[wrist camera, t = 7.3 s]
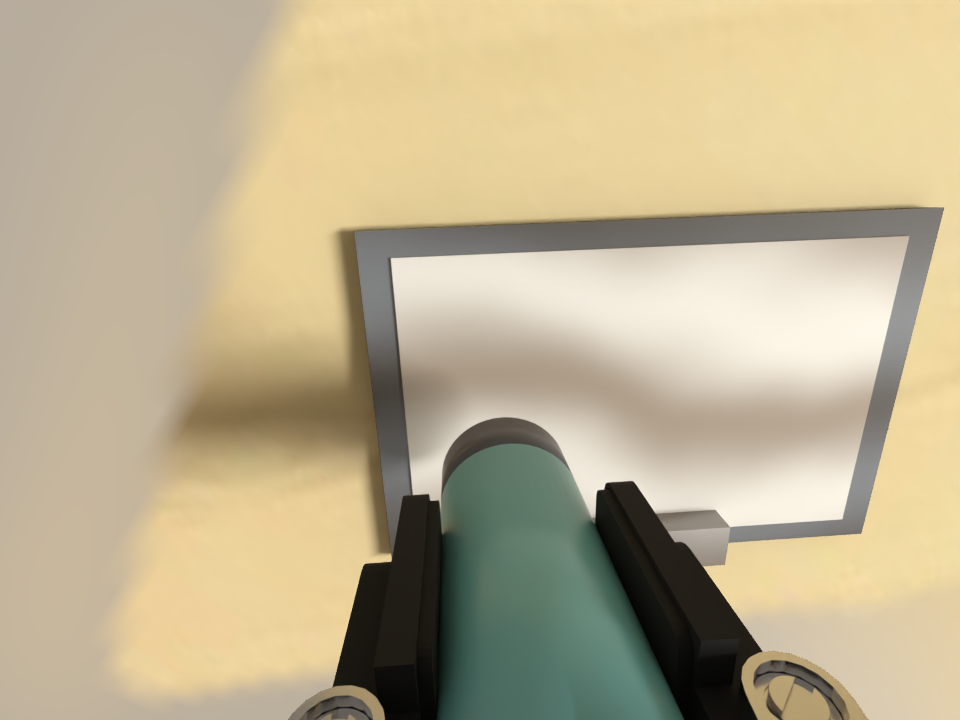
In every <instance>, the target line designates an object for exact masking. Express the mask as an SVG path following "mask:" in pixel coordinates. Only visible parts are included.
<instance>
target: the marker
mask: <svg viewBox="0 0 960 720" xmlns="http://www.w3.org/2000/svg"><path fill="white" fill-rule="evenodd" d="M441 528H442V554H441V588H440V621H439V655H438V689H437V718H436V720H684V718H683V716H682V714H681V711H680V709H679V707H678V705H677V703H676V701H675V698H674V696H673V694H672V692H671V690H670V687H669V685H668V683H667V681H666V679H665V676H664V674H663V672H662V670H661V668H660V665H659V663H658V661H657V659H656V657H655V655H654V652H653V650H652V648H651V646H650V644H649V641H648V639H647V637H646V635H645V633H644V630H643V628H642V626H641V624H640V622H639V619H638V617H637V615H636V613H635V611H634V609H633V606H632V604H631V602H630V600H629V598H628V595H627V593H626V591H625V589H624V587H623V584H622V582H621V580H620V578H619V576H618V573H617V571H616V569H615V567H614V565H613V563H612V560H611V558H610V556H609V554H608V552H607V549H606V547H605V545H604V543H603V541H602V538H601V536H600V534H599V532H598V530H597V527H596V525H595V523H594V521H593V519H592V517H591V514H590V512H589V510H588V508H587V506H586V503H585V501H584V499H583V497H582V495H581V492H580V490H579V488H578V486H577V484H576V482H575V479H574V477H573V475H572V473H571V471H570V468H569V466H568V464H567V462H566V460H565V457H564V455H563V453H562V451H561V449H560V447H559V445H558V443H557V442H556V441H555V439H554V438H553V437H552V436H551V435H550V434H549V433H548V432H547V431H546V430H544V429H543V428H542V427H540V426H538V425H537V424H535V423H532V422H530V421H527V420H524V419H520V418H512V417H501V418H493V419H489V420H485V421H483V422H480V423H478V424H476V425H474V426H472V427H470V428H469V429H467V430H466V431H464V432H463V433H462V434H461V435H460V436H459V437H458V438H457V439H456V440H455V441H454V442H453V444H452V445H451V447H450V448H449V450H448V452H447V454H446V456H445V459H444V463H443V468H442V488H441Z"/></svg>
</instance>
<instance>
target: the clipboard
mask: <svg viewBox="0 0 960 720" xmlns="http://www.w3.org/2000/svg"><path fill="white" fill-rule="evenodd" d="M943 210H944V208H929V207H925V208H901V209H876V210H851V211H827V212H802V213H777V214H753V215H728V216H704V217H679V218H654V219H630V220H605V221H581V222H556V223H531V224H507V225H482V226H457V227H433V228H408V229H384V230H359V231H355V232H354V234H355V243H356V252H357V260H358V269H359V278H360V286H361V295H362V304H363V312H364V321H365V330H366V338H367V347H368V356H369V365H370V373H371V382H372V391H373V399H374V408H375V417H376V425H377V434H378V443H379V451H380V460H381V469H382V477H383V486H384V495H385V503H386V512H387V521H388V530H389V538H390V547H391V556H393V550H394V544H395V539H396V533H397V527H398V521H399V515H400V509H401V503H402V498H403V496H405V495H421V494H429V496H430V501H436V500H439V502H440V514H441V488H442V468H443V463H444V459H445V456H446V454H447V452H448V450H449V448H450V447H451V445H452V444H453V442H454V441H455V440H456V439H457V438H458V437H459V436H460V435H461V434H462V433H463V432H464V431H466V430H467V429H469V428H470V427H472V426H474V425H476V424H478V423H480V422H483V421H485V420H489V419H493V418H501V417H512V418H520V419H524V420H527V421H530V422H532V423H535V424H537V425H538V426H540V427H542V428H543V429H544V430H546V431H547V432H548V433H549V434H550V435H551V436H552V437H553V438H554V439H555V441H556V442H557V443H558V445H559V447H560V449H561V451H562V453H563V455H564V457H565V460H566V462H567V464H568V466H569V468H570V471H571V473H572V475H573V477H574V479H575V482H576V484H577V486H578V488H579V490H580V492H581V495H582V497H583V499H584V501H585V503H586V506H587V508H588V510H589V512H590V514H591V517H592V519H593V521H594V523H595V514H596V494H597V491H598V490H604V487H605V484H606V483H607V482H623V481H633V482H634V483H635V484H636V485H637V487H638V488H639V490H640V491H641V493H642V494H643V495H644V497H645V498H646V500H647V501H648V503H649V504H650V506H651V507H652V509H653V510H654V512H655V513H656V515H657V516H658V518H659V519H660V521H661V522H662V524H663V525H664V527H665V528H666V530H667V531H668V533H669V534H670V536H671V537H672V539H673V540H674V542H683V543H685V544H686V545H687V546H688V547H689V548H690V549H691V551H692V552H693V554H694V555H695V556H696V558H697V559H698V561H699V562H700V563H701V565H702V566H713V565H725V560H726V553H727V547H728V543H731V542H745V541H760V540H774V539H789V538H803V537H818V536H832V535H847V534H861V532H862V529H863V525H864V521H865V517H866V513H867V509H868V505H869V501H870V497H871V493H872V489H873V485H874V481H875V477H876V474H877V470H878V466H879V462H880V458H881V454H882V450H883V446H884V442H885V438H886V434H887V430H888V426H889V422H890V418H891V415H892V411H893V407H894V403H895V399H896V395H897V391H898V387H899V383H900V379H901V375H902V371H903V367H904V363H905V360H906V356H907V352H908V348H909V344H910V340H911V336H912V332H913V328H914V324H915V320H916V316H917V312H918V308H919V305H920V301H921V297H922V293H923V289H924V285H925V281H926V277H927V273H928V269H929V265H930V261H931V257H932V253H933V250H934V246H935V242H936V238H937V234H938V230H939V226H940V222H941V218H942V214H943Z"/></svg>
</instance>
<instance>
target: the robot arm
mask: <svg viewBox="0 0 960 720" xmlns="http://www.w3.org/2000/svg"><path fill="white" fill-rule="evenodd" d="M595 525H596V527H597V530H598V532H599V534H600V536H601V538H602V541H603V543H604V545H605V547H606V549H607V552H608V554H609V556H610V558H611V560H612V563H613V565H614V567H615V569H616V571H617V573H618V576H619V578H620V580H621V582H622V584H623V587H624V589H625V591H626V593H627V595H628V598H629V600H630V602H631V604H632V606H633V609H634V611H635V613H636V615H637V617H638V619H639V622H640V624H641V626H642V628H643V630H644V633H645V635H646V637H647V639H648V641H649V644H650V646H651V648H652V650H653V652H654V655H655V657H656V659H657V661H658V663H659V665H660V668H661V670H662V672H663V674H664V676H665V679H666V681H667V683H668V685H669V687H670V690H671V692H672V694H673V696H674V698H675V701H676V703H677V705H678V707H679V709H680V711H681V714H682V716H683V718H684V720H868V719H867V717H866V716H865V714H864V713H863V711H862V710H861V708H860V707H859V705H858V704H857V702H856V701H855V699H854V698H853V697H852V696H851V695H850V693H849V692H848V691H847V690H846V689H845V688H844V687H843V685H842V684H841V683H840V682H839V681H837V680H836V679H835V678H834V677H833V676H831V675H830V674H829V673H828V672H826V671H825V670H824V669H822V668H820V667H818V666H817V665H815V664H813V663H812V662H810V661H808V660H806V659H803V658H800V657H797V656H795V655H792V654H789V653H783V652H777V651H768V652H762V650H761V649H760V647H759V646H758V644H757V643H756V642H755V640H754V639H753V637H752V636H751V634H750V633H749V632H748V630H747V629H746V627H745V626H744V625H743V623H742V622H741V620H740V619H739V617H738V616H737V615H736V613H735V612H734V610H733V609H732V608H731V606H730V605H729V603H728V602H727V600H726V599H725V598H724V596H723V595H722V593H721V592H720V590H719V589H718V588H717V586H716V585H715V583H714V582H713V581H712V579H711V578H710V576H709V575H708V573H707V572H706V571H705V569H704V568H703V566H702V565H701V563H700V562H699V561H698V559H697V558H696V556H695V555H694V554H693V552H692V551H691V549H690V548H689V547H688V546H687V545H686V544H685V543H683V542H674V540H673V539H672V537H671V536H670V534H669V533H668V531H667V530H666V528H665V527H664V525H663V524H662V522H661V521H660V519H659V518H658V516H657V515H656V513H655V512H654V510H653V509H652V507H651V506H650V504H649V503H648V501H647V500H646V498H645V497H644V495H643V494H642V493H641V491H640V490H639V488H638V487H637V485H636V484H635V483H634V482H633V481H623V482H607V483H606V484H605V487H604V490H598V491H597V494H596V514H595ZM441 554H442V528H441V514H440V502H439V500H436V501H430V496H429V494H421V495H405V496H403V498H402V503H401V509H400V515H399V521H398V527H397V533H396V539H395V544H394V550H393V556H392V562H384V563H370V564H365V565H364V566H363V569H362V572H361V576H360V580H359V584H358V588H357V592H356V596H355V600H354V604H353V608H352V612H351V616H350V620H349V624H348V628H347V632H346V636H345V640H344V644H343V648H342V652H341V656H340V660H339V664H338V668H337V672H336V676H335V680H334V684H333V688H330V689H327V690H324V691H321V692H319V693H318V694H316V695H314V696H313V697H311V698H309V699H308V700H306V701H305V702H304V703H303V704H302V705H301V706H300V707H299V708H298V709H297V710H296V711H295V712H294V713H293V714H292V715H291V716H290V718H289V719H288V720H436V718H437V689H438V655H439V621H440V588H441Z"/></svg>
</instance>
